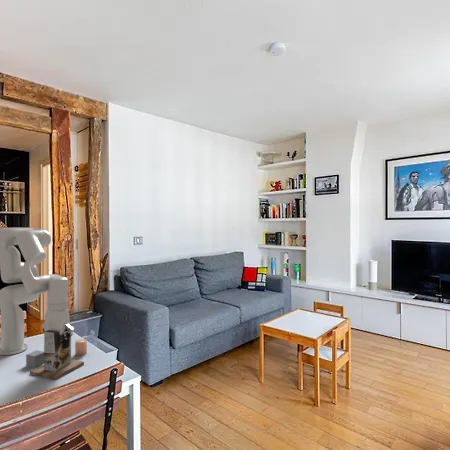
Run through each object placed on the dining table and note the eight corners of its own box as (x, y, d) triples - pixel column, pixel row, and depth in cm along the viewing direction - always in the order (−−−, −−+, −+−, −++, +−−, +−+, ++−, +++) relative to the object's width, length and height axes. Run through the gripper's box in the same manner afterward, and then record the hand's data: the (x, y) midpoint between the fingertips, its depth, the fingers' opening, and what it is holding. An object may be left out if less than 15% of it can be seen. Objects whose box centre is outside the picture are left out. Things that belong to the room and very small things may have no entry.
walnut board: (29, 374, 132) (29, 371, 132) (59, 359, 146) (59, 356, 146) (55, 380, 127) (55, 377, 127) (83, 364, 141) (83, 361, 141)
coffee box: (56, 371, 132) (56, 332, 131) (43, 370, 133) (43, 331, 133) (71, 362, 140) (72, 326, 140) (59, 360, 142) (59, 324, 142)
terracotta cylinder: (72, 355, 151) (72, 342, 151) (80, 351, 156) (81, 338, 156) (81, 356, 150) (81, 343, 150) (89, 352, 154) (89, 340, 154)
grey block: (26, 365, 140) (26, 354, 140) (36, 361, 144) (36, 350, 144) (34, 367, 138) (34, 356, 138) (44, 363, 143) (44, 351, 143)
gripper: (35, 306, 136) (34, 345, 136) (66, 310, 130) (65, 352, 130) (50, 301, 143) (49, 339, 143) (80, 306, 137) (79, 346, 137)
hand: (57, 345), depth 137 cm, fingers open, 9 cm apart
